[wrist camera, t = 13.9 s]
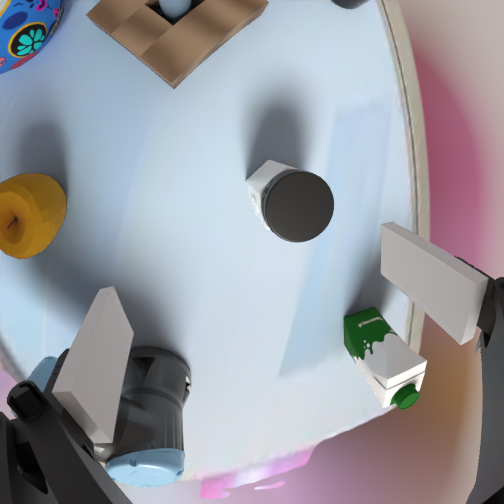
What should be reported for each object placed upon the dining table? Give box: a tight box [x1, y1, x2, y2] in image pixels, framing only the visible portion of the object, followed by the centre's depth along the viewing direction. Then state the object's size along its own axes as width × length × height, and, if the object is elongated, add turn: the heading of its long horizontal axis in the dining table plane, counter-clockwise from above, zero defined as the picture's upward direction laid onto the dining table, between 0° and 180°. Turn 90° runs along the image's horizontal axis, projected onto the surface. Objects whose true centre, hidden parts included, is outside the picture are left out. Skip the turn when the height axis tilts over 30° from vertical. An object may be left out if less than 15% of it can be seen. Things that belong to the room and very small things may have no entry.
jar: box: [246, 160, 334, 242], centre depth 38 cm, size 9×8×12 cm
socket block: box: [86, 0, 269, 89], centre depth 29 cm, size 17×17×5 cm
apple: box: [0, 173, 67, 259], centre depth 32 cm, size 11×11×13 cm
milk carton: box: [344, 307, 427, 410], centre depth 48 cm, size 9×9×20 cm
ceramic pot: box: [0, 0, 64, 74], centre depth 20 cm, size 18×18×15 cm
